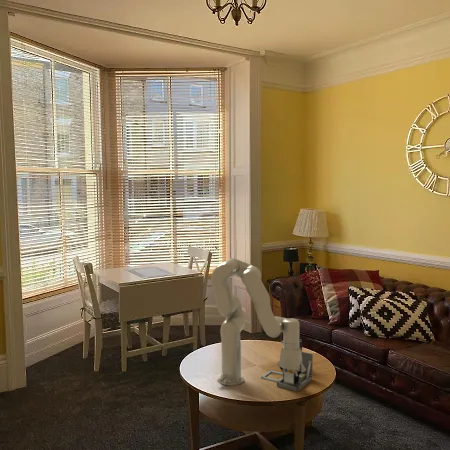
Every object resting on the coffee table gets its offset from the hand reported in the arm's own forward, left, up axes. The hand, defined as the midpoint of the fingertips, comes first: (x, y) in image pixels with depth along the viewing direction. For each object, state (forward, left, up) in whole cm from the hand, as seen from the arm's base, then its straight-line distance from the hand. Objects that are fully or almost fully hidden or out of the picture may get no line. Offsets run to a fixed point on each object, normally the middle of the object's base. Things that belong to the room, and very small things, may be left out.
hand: (291, 381), depth 232 cm
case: (+4, 0, -3) cm, 5 cm away
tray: (+5, +12, -3) cm, 13 cm away
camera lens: (+23, +9, -3) cm, 25 cm away
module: (0, 0, -2) cm, 2 cm away
